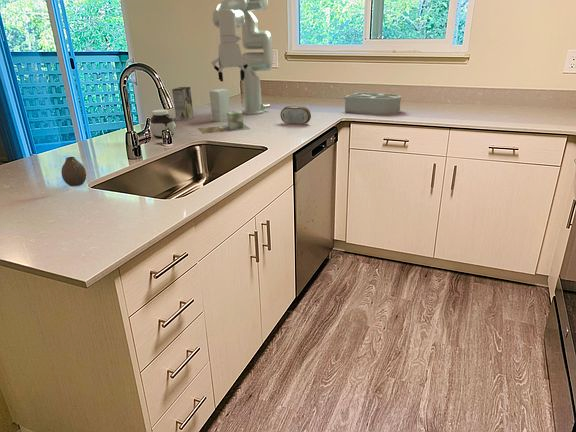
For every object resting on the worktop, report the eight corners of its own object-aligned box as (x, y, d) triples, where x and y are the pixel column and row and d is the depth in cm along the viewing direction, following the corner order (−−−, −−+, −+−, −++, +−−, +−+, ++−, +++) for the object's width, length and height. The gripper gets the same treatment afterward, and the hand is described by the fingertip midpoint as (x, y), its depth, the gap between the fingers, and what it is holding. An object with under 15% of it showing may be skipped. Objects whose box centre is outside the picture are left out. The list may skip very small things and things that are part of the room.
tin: (311, 124, 212) (311, 106, 209) (309, 125, 210) (309, 107, 206) (282, 122, 217) (281, 105, 214) (280, 124, 214) (279, 106, 211)
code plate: (243, 124, 216) (243, 123, 216) (250, 130, 204) (250, 129, 203) (221, 126, 212) (221, 125, 212) (227, 132, 200) (227, 131, 200)
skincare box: (222, 118, 231) (220, 88, 225) (232, 119, 228) (229, 88, 222) (211, 121, 225) (208, 90, 219) (221, 122, 222) (218, 91, 215)
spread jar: (154, 140, 191) (150, 113, 186) (149, 135, 200) (145, 109, 196) (181, 136, 196) (177, 110, 191) (175, 131, 205) (171, 106, 201)
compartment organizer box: (357, 107, 251) (357, 92, 247) (404, 111, 237) (405, 95, 233) (344, 112, 238) (344, 96, 235) (393, 116, 224) (394, 99, 220)
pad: (218, 127, 211) (218, 126, 211) (224, 132, 201) (224, 131, 201) (198, 129, 208) (197, 128, 208) (202, 134, 198) (202, 133, 198)
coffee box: (183, 117, 238) (179, 86, 232) (194, 117, 237) (190, 86, 231) (175, 120, 230) (171, 89, 224) (187, 120, 229) (183, 89, 222)
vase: (69, 181, 142) (63, 155, 138) (91, 180, 142) (85, 154, 139) (61, 188, 135) (54, 161, 132) (83, 187, 136) (77, 160, 132)
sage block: (240, 125, 211) (239, 110, 209) (243, 127, 206) (242, 112, 203) (228, 126, 210) (226, 112, 207) (231, 129, 204) (229, 114, 202)
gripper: (245, 39, 198) (248, 78, 205) (207, 40, 193) (211, 81, 200) (250, 39, 192) (252, 80, 199) (211, 41, 187) (214, 82, 193)
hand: (232, 80), depth 199 cm, fingers open, 9 cm apart
